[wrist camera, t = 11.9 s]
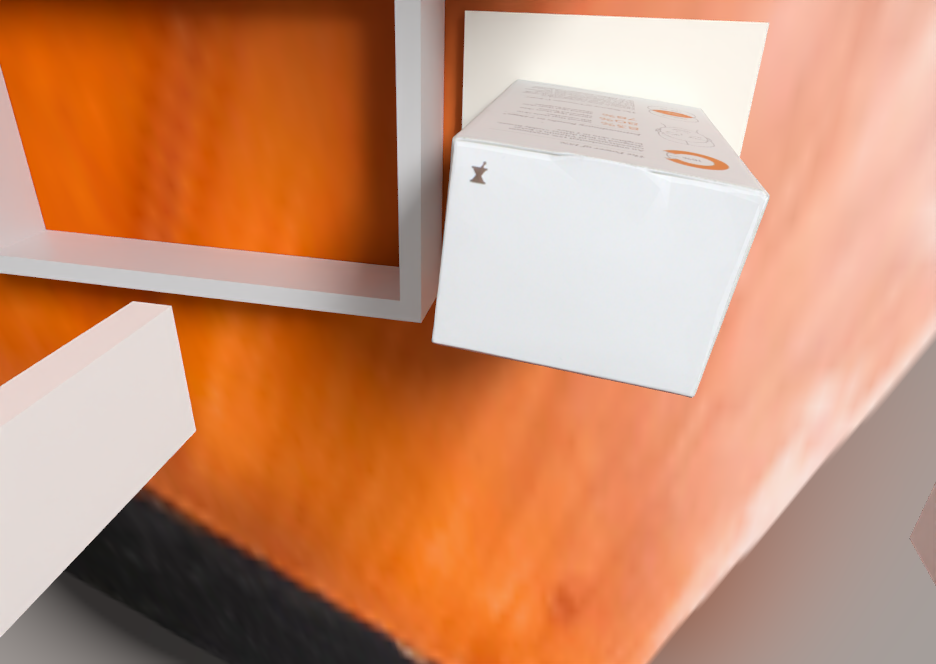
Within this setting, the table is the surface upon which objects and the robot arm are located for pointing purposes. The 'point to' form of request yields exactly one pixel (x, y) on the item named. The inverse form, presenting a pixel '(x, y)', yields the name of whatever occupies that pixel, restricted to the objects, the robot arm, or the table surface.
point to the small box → (594, 235)
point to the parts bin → (255, 273)
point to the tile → (618, 60)
